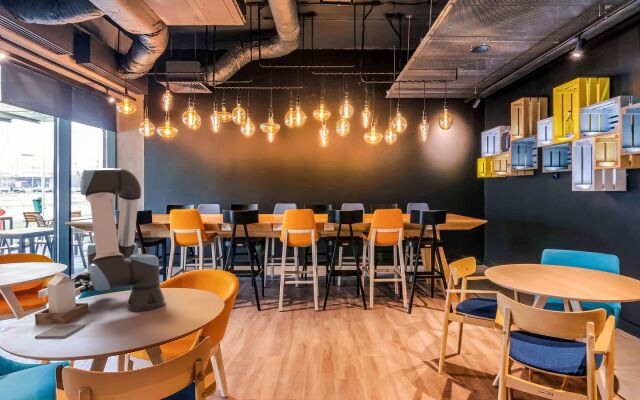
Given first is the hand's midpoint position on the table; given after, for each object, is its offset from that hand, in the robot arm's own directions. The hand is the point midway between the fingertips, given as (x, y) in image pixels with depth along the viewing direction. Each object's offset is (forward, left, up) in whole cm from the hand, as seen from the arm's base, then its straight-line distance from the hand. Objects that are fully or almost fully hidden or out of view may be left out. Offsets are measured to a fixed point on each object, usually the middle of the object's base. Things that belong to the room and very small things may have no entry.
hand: (56, 294), depth 150 cm
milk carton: (0, -3, -11) cm, 12 cm away
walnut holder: (0, -3, -11) cm, 11 cm away
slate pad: (-10, +12, -11) cm, 19 cm away
